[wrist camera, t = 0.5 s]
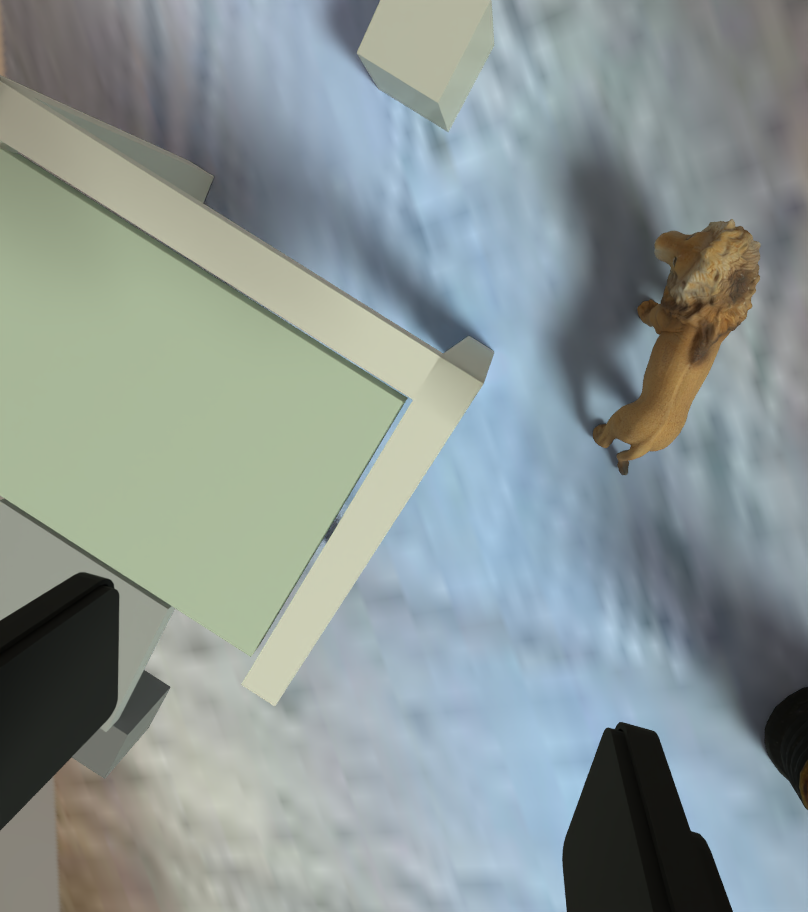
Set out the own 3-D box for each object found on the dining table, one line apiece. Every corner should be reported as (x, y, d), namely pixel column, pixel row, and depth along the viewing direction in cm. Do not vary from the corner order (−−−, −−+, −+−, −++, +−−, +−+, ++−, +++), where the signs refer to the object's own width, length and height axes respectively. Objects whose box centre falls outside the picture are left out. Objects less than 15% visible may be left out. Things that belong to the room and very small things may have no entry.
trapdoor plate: (82, 173, 26) (-2, 147, 22) (420, 385, 26) (402, 402, 21) (-51, 598, 35) (-129, 638, 31) (196, 758, 35) (152, 821, 31)
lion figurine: (631, 233, 32) (675, 206, 24) (726, 241, 31) (808, 216, 23) (583, 466, 36) (605, 515, 28) (666, 478, 35) (715, 533, 27)
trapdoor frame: (188, 160, 36) (-36, 59, 21) (494, 351, 35) (483, 383, 21) (98, 399, 42) (-124, 449, 27) (358, 564, 41) (274, 706, 27)
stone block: (420, 1, 31) (404, -55, 26) (494, 45, 31) (491, -2, 26) (379, 89, 33) (356, 52, 28) (448, 132, 32) (438, 103, 28)
